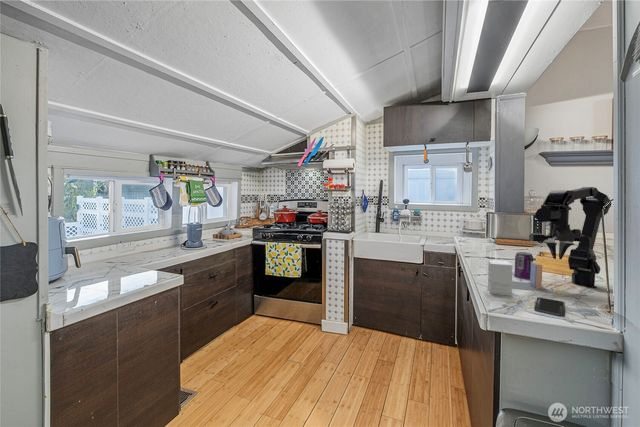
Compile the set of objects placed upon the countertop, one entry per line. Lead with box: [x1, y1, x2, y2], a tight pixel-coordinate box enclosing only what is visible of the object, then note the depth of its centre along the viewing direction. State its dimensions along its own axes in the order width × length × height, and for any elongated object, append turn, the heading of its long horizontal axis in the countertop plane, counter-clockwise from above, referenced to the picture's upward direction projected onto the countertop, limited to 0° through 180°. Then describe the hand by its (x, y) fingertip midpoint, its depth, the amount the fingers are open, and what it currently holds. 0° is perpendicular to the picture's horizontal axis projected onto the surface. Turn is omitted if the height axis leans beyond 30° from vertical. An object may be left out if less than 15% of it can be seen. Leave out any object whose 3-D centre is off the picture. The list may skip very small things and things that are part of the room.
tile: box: [529, 261, 543, 289], centre depth 119 cm, size 2×6×10 cm, turn 160°
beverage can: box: [513, 251, 534, 280], centre depth 134 cm, size 7×7×12 cm
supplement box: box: [487, 259, 513, 297], centre depth 113 cm, size 7×7×13 cm
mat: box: [512, 280, 551, 293], centre depth 120 cm, size 14×12×1 cm
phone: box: [533, 297, 566, 317], centre depth 98 cm, size 8×1×15 cm
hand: (557, 259), depth 116 cm, fingers closed
